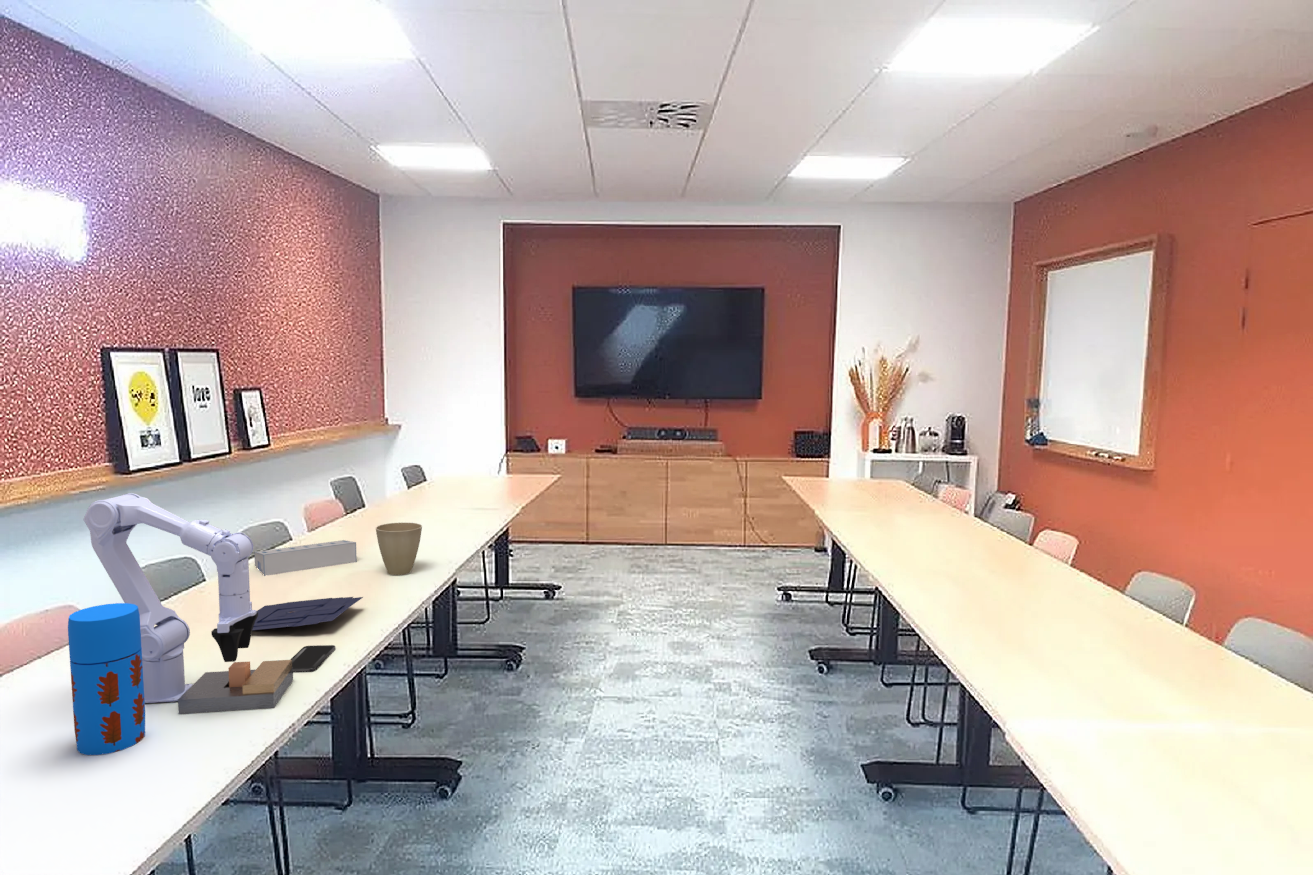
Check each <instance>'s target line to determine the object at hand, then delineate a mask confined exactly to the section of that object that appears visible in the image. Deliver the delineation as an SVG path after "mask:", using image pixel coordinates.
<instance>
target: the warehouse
mask: <svg viewBox="0 0 1313 875" xmlns="http://www.w3.org/2000/svg"><path fill="white" fill-rule="evenodd" d="M253 552H254V554H253V555H254V567H255V566H256V567H255V568H256V569H257V568H258V569H259V570H258V569H257V570H258V571H259V572H260V573H261V572H262V573H263V574H264V575H263V574H262V573H261V574H262V575H263V576H264V577H265V576H266V575H267V576H273V575H278V574H279V575H280V574H286V573H291V572H299V571H304V570H305V571H307V570H312V569H318V568H327V567H332V566H338V565H346V564H353V563H357V542H356V541H350V540H346V539H345V540H344V539H343V540H335V541H327V542H318V543H311V544H305V545H303V544H302V545H298V546H296V545H295V546H290V547H280V548H274V549H265V550H259V551H253Z"/></svg>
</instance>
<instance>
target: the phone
mask: <svg viewBox="0 0 1313 875" xmlns="http://www.w3.org/2000/svg"><path fill="white" fill-rule="evenodd" d="M335 651H336V645H333V644H331V645H330V644H328V645H326V644H325V645H323V644H322V645H321V644H320V645H317V644H316V645H305V646H303V647H302V648H300V650H299V651H297V653H296V654H294V655H293V657H291V658H290V659H289V660H292V667H293V674H294V673H313V672H316V671H317V670H318V669H319V668H320V667H321V666H322V665H323V664H324V663H325V661H326V660H327V659H328V658H329V657H330V656H331V655H332V654H333V653H334V652H335Z"/></svg>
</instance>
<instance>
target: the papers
mask: <svg viewBox="0 0 1313 875" xmlns="http://www.w3.org/2000/svg"><path fill="white" fill-rule="evenodd" d="M363 598H364V596H359V597H354V596H349V597H348V596H347V597H327V598H325V597H324V598H318V599H308V600H297V601H287V602H282V603H276V604H268V605H267V604H266V605H264V606H262V607H261V608H259V609H257V610H256V611H257V613H258V617H257V619H256V621H255V623H254V626H253V629H252V631H260V630H270V629H278V628H286V627H287V628H288V627H289V628H291V627H293V628H295V627H301V626H306V625H307V626H309V625H318V624H319V623H323V622H324V623H326V622H332V621H334V620H336V619H337V618H338V617H339V616H340V615H342V614H343V613H344V612H345V611H347V610H348V609H349V608H351V607H352V606H354V605H355V604H356V603H358V602H359V601H360V600H362V599H363Z"/></svg>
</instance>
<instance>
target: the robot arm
mask: <svg viewBox="0 0 1313 875" xmlns="http://www.w3.org/2000/svg"><path fill="white" fill-rule="evenodd" d="M83 521H84V524H86V527H87V528H88V530H89V536H90V542H91V548H92V549H93V551H94V553H95V554H96V556H97V558H98V559H99V562H100V563H101V565H102V567H103V568H104V570H105V572H106V574H107V575H108V577H109V579H110V580H111V582H112V583H113V586H114V587H115V588H116V591H117V592H118V594H119V596H120V597H121V599H122V601H123V603H129V604H135V605H137V606H138V609H139V614H140V629H141V647H142V664H143V682H144V700H145V704H152V703H169V702H170V703H171V702H178V699H179V698H180V697H181V696H182V695H183V694H184V693H185V692H186V691H187V690H188V689H189V688H190V687H191V686H192V685H193V684H194V683H186V680H185V678H186V676H185V659H184V658H185V657H184V649H185V643H186V642H187V641H188V640H189V638H190V635H191V634H190V633H191V632H190V626H189V625H188V624H187V622H186V621H185V620H184V619H182V618H181V617H179V615H178V614H177V612H176V611H175V610H174V609H172V608H169V607H165V606H164V605H163V604H162V602H161V601H160V599H159V597H158V596H157V593H156V591H155V590H154V589H153V587H152V585H151V583H150V581H149V580H148V578H147V576H146V575H145V572H144V571H143V570H142V567H141V566H140V564H139V562H138V560H137V559H136V557H135V555H134V554H133V552H132V550H131V548H130V547H129V545H128V543H127V541H128V539H129V537H130V534H131V532H132V531H133V530H134V528H136V526H137V525H138V524H143V525H148V526H150V527H152V528H155V529H158V530H161V531H163V532H167V533H169V534H172V535H174V536H177V537H179V538H180V541H181V543H182V544H183V546H186V547H188V548H190V549H193V550H195V551H198V552H200V553H202V554H205V555H207V556H210V557H211V560H212V562H213V563H214V564H215V566H216V572H217V580H218V585H217V586H218V602H219V603H218V604H219V613H218V623H216V624H217V625H216V628H213V629H212V630H211V637H212V638H213V639H214V641H215V642H216V643H217V645H218V647H219V650H220V654H221V656H222V659H223V661H224V663H230V662H231V663H234V662H237V659H238V653H239V652H238V651H239V649H248V648H249V646H250V643H251V638H252V633H253V630H252V629H253V626H254V623H255V621H256V619H257V617H258V613H257V610H256V609H253V601H251V593H250V592H251V591H250V590H251V588H250V569H249V568H250V567H249V566H250V564H249V557H250V556H251V555H252V553H253V552H254V542H253V541H252V539H251V537H249V536H248V535H247V534H246V533H244V532H234V533H231V531H230V530H229V529H221V528H220V527H216V526H214V525H212V524H210V520H208V519H205V518H204V519H194V520H192V521H189V520H186V519H185V518H182V517H181V516H178V515H177V514H175V513H173V512H170V511H168V510H166V509H165V508H163V507H161V506H159V505H156V504H154V503H152V501H150V499H149V498H147V497H144V496H141V495H139V494H137V493H133V492H129V493H124V494H122V495H119V496H114V497H110V498H105V499H98V500H96V501H93V502H91V504H90V505H89V506H88V508H87V510H86V512H85V515H84V517H83Z"/></svg>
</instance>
